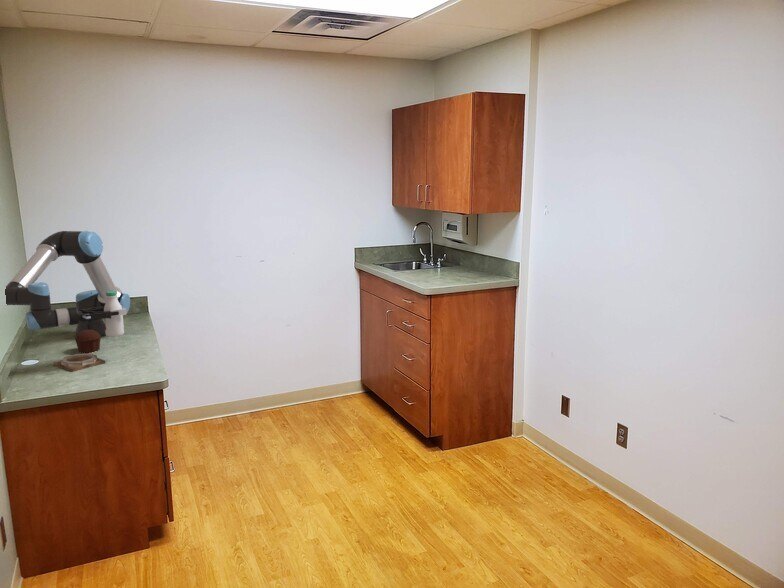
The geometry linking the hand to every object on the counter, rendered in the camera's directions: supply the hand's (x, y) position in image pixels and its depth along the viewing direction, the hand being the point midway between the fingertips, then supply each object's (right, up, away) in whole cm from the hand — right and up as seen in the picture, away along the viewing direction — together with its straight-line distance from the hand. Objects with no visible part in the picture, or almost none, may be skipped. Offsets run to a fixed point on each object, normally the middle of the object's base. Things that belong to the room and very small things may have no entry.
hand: (123, 309), depth 276 cm
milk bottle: (-4, -12, 0) cm, 12 cm away
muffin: (-24, -20, +16) cm, 35 cm away
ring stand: (-18, -24, -5) cm, 30 cm away
